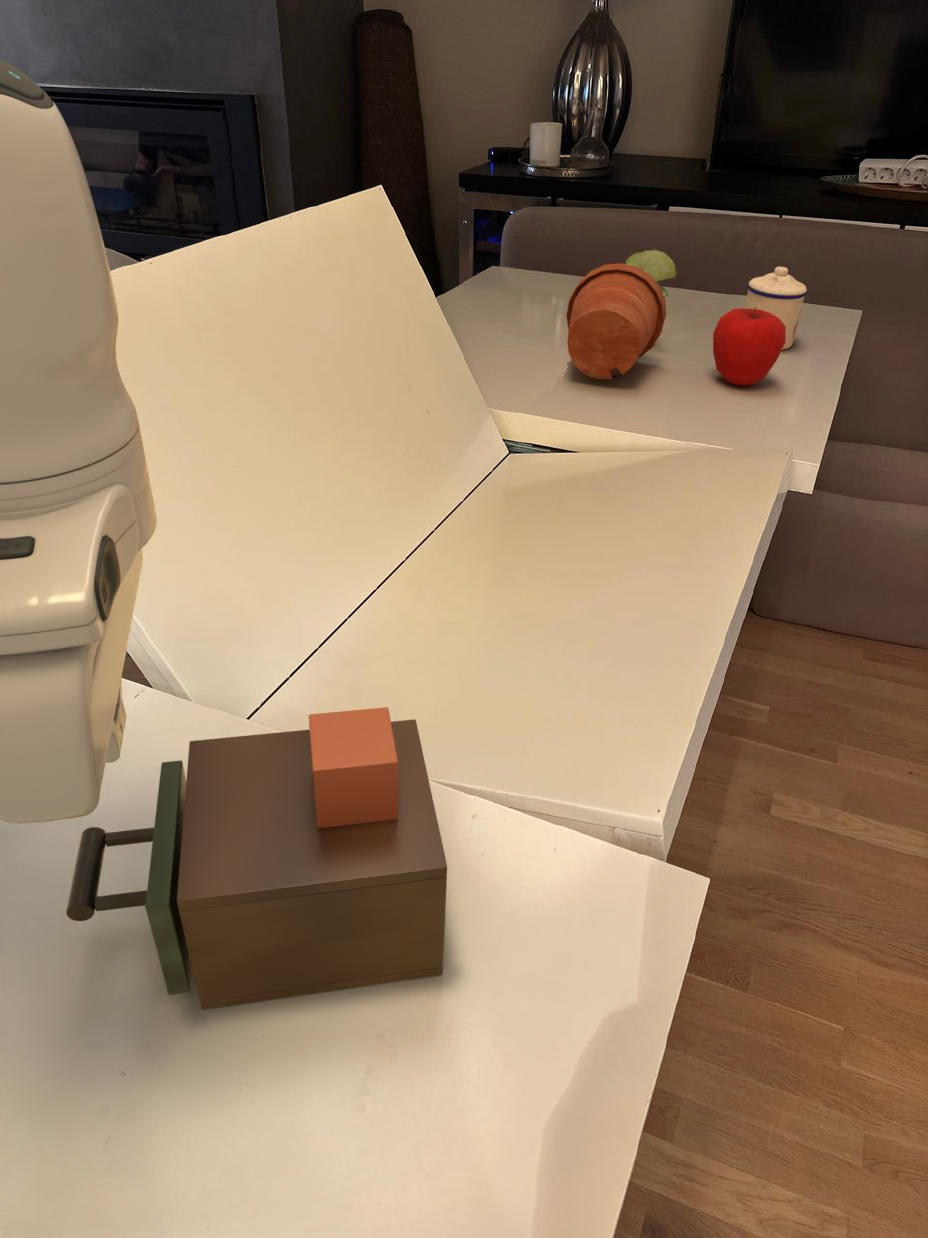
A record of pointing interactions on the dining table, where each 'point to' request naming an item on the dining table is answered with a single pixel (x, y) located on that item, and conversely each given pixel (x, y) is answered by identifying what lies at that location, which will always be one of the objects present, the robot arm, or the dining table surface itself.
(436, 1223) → the dining table surface
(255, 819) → the cabinet
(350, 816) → the block
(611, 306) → the potted plant
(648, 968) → the dining table surface
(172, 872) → the drawer
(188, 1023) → the dining table surface
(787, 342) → the teacup with lid
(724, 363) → the apple
